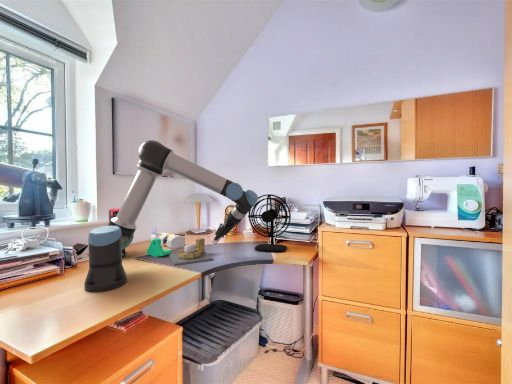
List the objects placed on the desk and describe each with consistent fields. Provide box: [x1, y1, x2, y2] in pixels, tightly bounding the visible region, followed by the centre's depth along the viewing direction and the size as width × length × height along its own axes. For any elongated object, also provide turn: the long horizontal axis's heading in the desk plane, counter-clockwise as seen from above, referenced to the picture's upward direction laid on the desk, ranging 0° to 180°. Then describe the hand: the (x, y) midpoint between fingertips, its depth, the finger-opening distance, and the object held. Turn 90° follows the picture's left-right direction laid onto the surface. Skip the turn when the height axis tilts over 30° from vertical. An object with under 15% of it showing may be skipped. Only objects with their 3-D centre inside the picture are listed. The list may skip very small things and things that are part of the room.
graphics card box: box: [108, 208, 126, 258], centre depth 150 cm, size 17×7×27 cm, turn 37°
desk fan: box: [247, 193, 292, 253], centre depth 160 cm, size 27×18×35 cm, turn 73°
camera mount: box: [146, 237, 172, 258], centre depth 150 cm, size 12×8×10 cm, turn 67°
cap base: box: [168, 243, 213, 267], centre depth 143 cm, size 20×20×7 cm
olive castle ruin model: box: [178, 237, 206, 259], centre depth 145 cm, size 16×12×8 cm
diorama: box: [150, 226, 186, 250], centre depth 175 cm, size 25×10×13 cm, turn 52°
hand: (213, 242), depth 143 cm, fingers closed
